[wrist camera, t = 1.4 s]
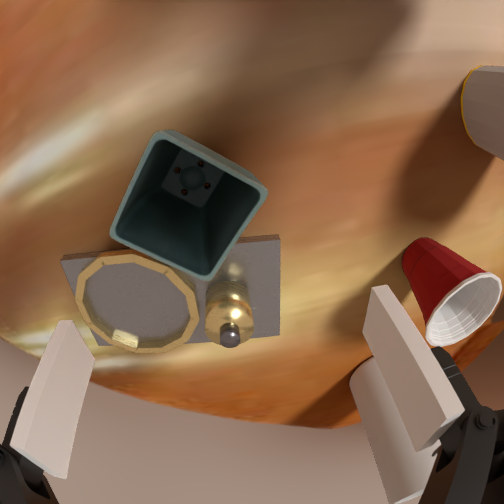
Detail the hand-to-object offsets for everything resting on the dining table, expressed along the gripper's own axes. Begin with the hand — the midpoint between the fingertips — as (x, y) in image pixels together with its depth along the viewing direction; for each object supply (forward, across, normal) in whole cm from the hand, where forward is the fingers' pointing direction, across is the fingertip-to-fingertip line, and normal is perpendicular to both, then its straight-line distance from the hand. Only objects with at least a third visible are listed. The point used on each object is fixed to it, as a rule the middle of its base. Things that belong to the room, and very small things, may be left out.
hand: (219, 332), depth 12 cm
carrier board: (+19, -7, -13) cm, 24 cm away
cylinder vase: (+19, +24, -36) cm, 47 cm away
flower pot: (+19, -2, +1) cm, 20 cm away
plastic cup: (+19, +24, -12) cm, 33 cm away
